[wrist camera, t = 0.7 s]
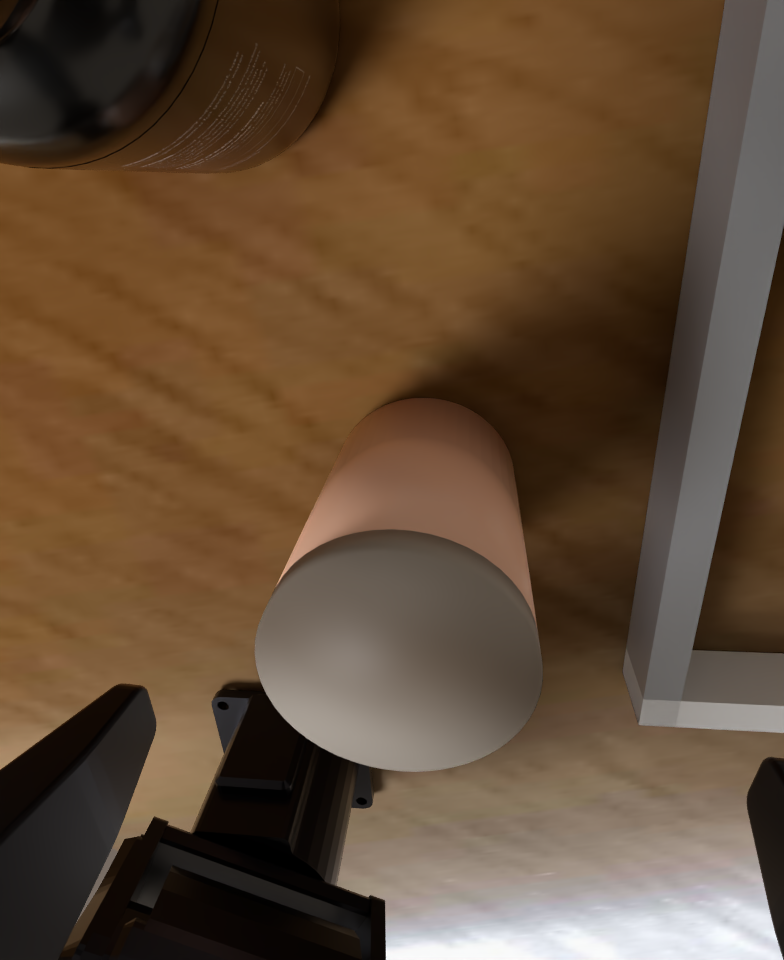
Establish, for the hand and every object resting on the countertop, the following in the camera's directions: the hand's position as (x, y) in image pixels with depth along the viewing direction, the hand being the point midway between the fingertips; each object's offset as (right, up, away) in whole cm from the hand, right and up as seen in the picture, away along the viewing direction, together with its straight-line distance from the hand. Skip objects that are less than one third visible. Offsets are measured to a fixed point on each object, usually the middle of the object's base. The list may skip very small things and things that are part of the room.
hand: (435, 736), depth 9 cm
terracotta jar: (0, +4, +11) cm, 12 cm away
